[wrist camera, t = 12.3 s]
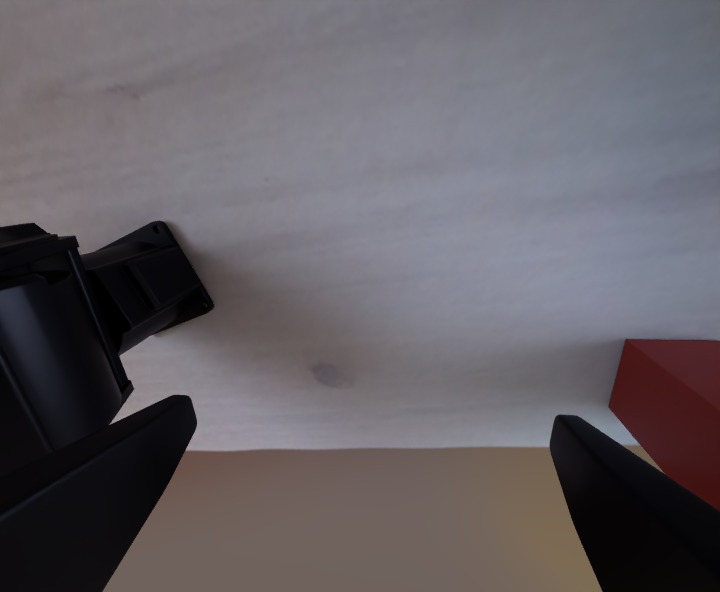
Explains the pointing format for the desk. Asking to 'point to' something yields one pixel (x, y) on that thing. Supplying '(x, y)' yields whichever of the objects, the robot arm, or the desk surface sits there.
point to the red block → (674, 408)
